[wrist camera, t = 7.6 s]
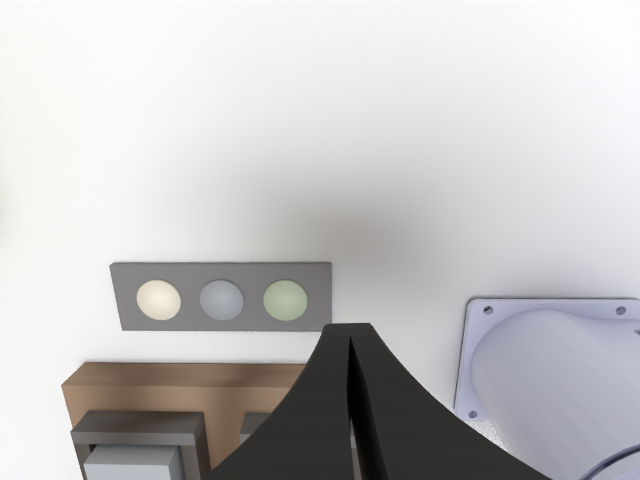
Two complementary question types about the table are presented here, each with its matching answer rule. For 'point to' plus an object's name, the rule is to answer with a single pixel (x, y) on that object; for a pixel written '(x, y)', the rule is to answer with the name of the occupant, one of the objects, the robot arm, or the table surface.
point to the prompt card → (223, 296)
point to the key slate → (135, 462)
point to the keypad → (176, 407)
